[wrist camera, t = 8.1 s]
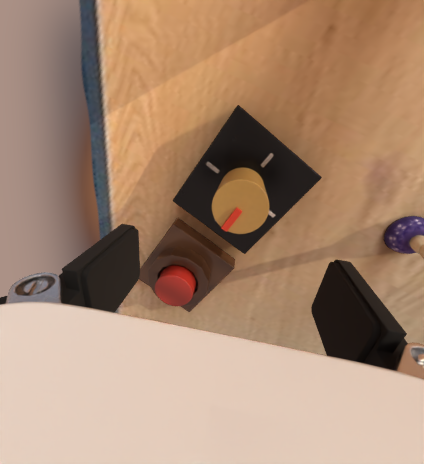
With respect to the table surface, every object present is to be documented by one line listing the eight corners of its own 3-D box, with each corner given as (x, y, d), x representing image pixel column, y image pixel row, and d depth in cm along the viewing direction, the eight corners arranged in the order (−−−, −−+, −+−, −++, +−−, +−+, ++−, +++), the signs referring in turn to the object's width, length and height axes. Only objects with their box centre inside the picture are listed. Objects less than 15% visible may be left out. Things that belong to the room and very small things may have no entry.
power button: (172, 258, 25) (167, 268, 23) (203, 279, 26) (200, 291, 24) (154, 281, 27) (147, 292, 25) (183, 300, 28) (179, 312, 26)
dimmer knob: (236, 157, 21) (233, 168, 15) (274, 184, 21) (282, 203, 16) (211, 195, 22) (200, 215, 17) (246, 219, 23) (245, 245, 18)
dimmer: (239, 107, 21) (237, 104, 19) (314, 172, 22) (322, 178, 20) (178, 194, 26) (171, 201, 23) (244, 244, 27) (244, 255, 25)
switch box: (178, 217, 27) (167, 231, 23) (235, 259, 28) (233, 278, 25) (141, 268, 31) (127, 286, 28) (192, 302, 32) (185, 323, 29)
